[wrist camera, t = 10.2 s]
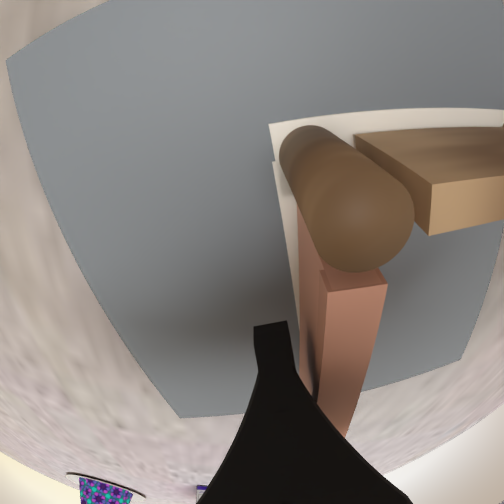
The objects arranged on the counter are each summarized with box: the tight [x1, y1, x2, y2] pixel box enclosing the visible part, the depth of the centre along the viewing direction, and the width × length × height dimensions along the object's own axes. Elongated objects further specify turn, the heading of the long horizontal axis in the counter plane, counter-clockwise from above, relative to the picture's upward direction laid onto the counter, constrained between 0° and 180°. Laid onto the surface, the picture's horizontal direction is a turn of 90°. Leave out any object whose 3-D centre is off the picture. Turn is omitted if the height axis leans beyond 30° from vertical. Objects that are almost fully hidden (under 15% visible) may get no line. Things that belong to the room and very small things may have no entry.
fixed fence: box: [279, 124, 504, 273], centre depth 6 cm, size 10×2×5 cm, turn 101°
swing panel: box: [297, 205, 388, 438], centre depth 9 cm, size 9×1×4 cm, turn 6°
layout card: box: [6, 0, 504, 418], centre depth 10 cm, size 17×19×1 cm
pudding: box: [66, 475, 146, 504], centre depth 28 cm, size 12×12×5 cm
